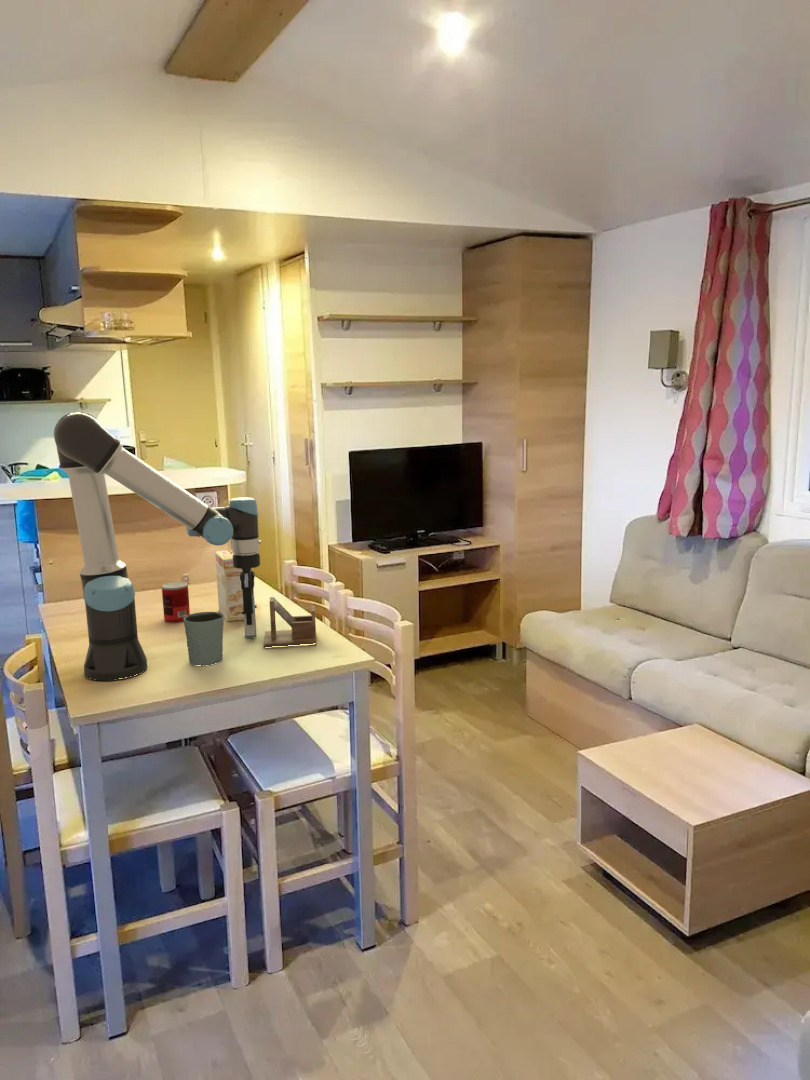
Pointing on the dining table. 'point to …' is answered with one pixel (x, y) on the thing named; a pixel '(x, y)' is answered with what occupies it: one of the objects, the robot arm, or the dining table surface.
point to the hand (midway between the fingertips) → (250, 632)
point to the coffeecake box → (229, 586)
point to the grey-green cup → (204, 637)
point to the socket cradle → (300, 625)
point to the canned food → (175, 601)
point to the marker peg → (254, 620)
